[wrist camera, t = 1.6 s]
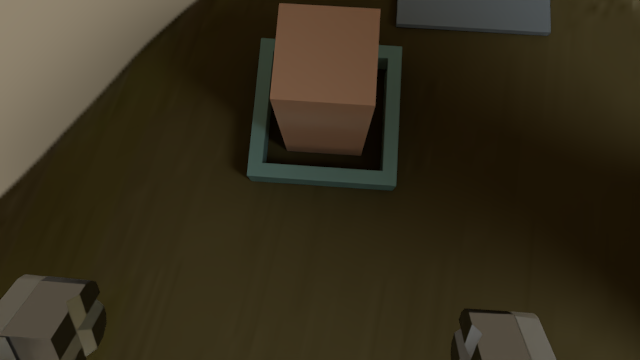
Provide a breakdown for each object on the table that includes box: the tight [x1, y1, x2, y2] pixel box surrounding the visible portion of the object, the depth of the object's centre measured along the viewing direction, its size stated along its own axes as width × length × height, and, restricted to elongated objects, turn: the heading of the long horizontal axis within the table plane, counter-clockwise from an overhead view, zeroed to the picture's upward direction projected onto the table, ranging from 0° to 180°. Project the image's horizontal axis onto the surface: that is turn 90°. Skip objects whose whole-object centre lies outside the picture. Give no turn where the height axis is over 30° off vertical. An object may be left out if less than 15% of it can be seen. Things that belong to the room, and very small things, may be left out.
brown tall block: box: [270, 3, 381, 156], centre depth 31 cm, size 6×6×11 cm
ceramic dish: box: [247, 38, 402, 191], centre depth 35 cm, size 11×11×3 cm
